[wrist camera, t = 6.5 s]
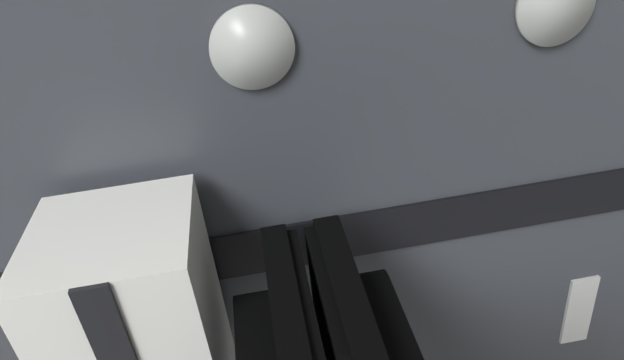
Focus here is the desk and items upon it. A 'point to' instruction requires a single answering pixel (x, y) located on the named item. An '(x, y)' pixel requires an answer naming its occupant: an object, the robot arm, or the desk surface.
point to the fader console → (351, 146)
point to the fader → (116, 278)
